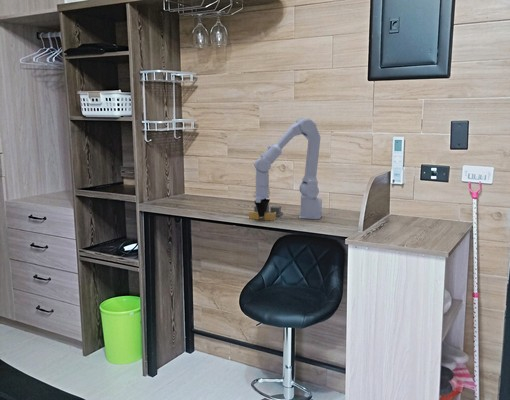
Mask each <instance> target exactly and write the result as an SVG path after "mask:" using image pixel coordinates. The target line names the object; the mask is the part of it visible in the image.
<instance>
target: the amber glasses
mask: <svg viewBox="0 0 510 400" xmlns="http://www.w3.org/2000/svg"><path fill="white" fill-rule="evenodd" d="M275 214H276V212H274V213H268V212H265V214H264V217H263V220H264V221H276V217H275ZM248 219H249V220H261V217H259V215H258V212H254V210H251V211H249V212H248Z"/></svg>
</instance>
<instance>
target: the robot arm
mask: <svg viewBox="0 0 510 400" xmlns="http://www.w3.org/2000/svg"><path fill="white" fill-rule="evenodd" d="M301 135H303V136H304V137H305V139H306V140H307V141H308V142H307V149H306V157H305V158H306V159H305V168H304V176H303V178H302V180H301V184H300V185H299V190H298V191H299V193H300V194H301V196H300V215H299V216H298V219H309V220H320V219H321V217H322V216H323V210H322V209H323V200H322V198H320V197H318V195H319V193H320V191H319V186H318V185H319V182H318V179H317V175H318V174H317V171H318V164H319V154H320V147H321V134H320V132H319V130H318V128H317V124H316V123H315V121H313V119H311V118H298V119H296V121H295V122H293V123H292V124H291V125H290V126H289V128H287V130H286V132H284V134H283V135H282V136H281V138H280V139H279V140H278V141H277V142H276V143H274V144H271V145H268V146H267V149H266V151H265V152H264V153H263V154H260V157H259V158H257V159H256V160H255V162H254V164H253V165H254V166H253V167H254V168H255V191H256V192H255V194H253V195H252V197H253V198H254V199H255V200H254V201H253V203H254V206H256V207H257V210H258V215H259V217H260V218H264V214H265V212H266V210H267V206H268V204H270V202H271V201H270V199H269V198H270V195H269V191H270V175H269V173H270V172H269V171H270V169H271V167H272V166H271V165H273V163H275V162H276V160H277V159H278V158H279V157H280V156H281V155H282V150H283V148H284V147H286V146H287V144H288V143H289V142H290V141H291V140H293V139H294V137H296V136H301Z"/></svg>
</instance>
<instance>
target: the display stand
mask: <svg viewBox="0 0 510 400" xmlns="http://www.w3.org/2000/svg"><path fill="white" fill-rule="evenodd" d="M253 208H254V209H253V212H258V210H257V207H256V205H254V207H253ZM266 212H268V213H274V212H276V214H275V218H280V216H281V217H282V216H283V215H284V211H282V206H281V205H272V206H270V203H268V206H267V210H266Z"/></svg>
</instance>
